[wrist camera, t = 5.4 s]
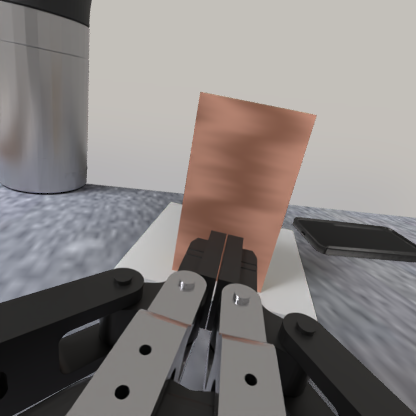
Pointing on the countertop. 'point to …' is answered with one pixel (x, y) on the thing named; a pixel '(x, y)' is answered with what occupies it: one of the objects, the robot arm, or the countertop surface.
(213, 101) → the brown flat rectangular block
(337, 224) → the phone
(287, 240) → the white square pad
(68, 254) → the countertop surface
